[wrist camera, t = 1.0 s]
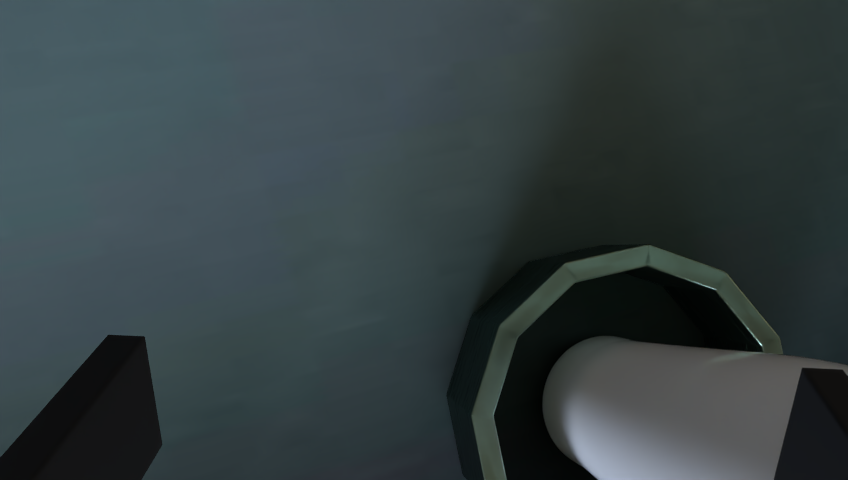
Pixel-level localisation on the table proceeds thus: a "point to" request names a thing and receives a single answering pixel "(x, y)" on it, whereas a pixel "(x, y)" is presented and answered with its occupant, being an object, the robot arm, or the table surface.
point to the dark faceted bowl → (542, 286)
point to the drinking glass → (671, 409)
